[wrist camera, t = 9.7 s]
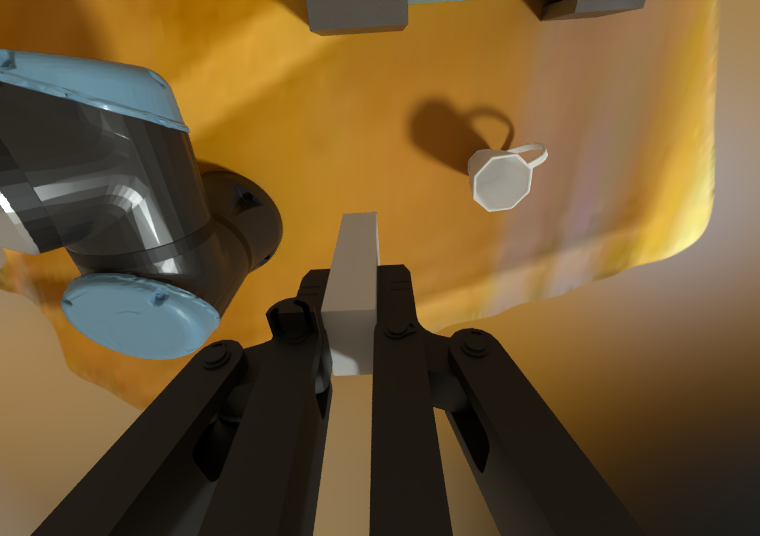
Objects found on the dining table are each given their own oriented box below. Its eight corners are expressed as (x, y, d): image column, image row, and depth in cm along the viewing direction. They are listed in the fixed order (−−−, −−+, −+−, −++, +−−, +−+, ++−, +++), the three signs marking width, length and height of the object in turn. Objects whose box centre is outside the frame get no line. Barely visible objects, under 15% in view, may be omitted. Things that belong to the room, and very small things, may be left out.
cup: (448, 155, 42) (462, 173, 35) (522, 113, 39) (552, 124, 33) (468, 198, 45) (483, 222, 39) (537, 162, 43) (567, 182, 36)
